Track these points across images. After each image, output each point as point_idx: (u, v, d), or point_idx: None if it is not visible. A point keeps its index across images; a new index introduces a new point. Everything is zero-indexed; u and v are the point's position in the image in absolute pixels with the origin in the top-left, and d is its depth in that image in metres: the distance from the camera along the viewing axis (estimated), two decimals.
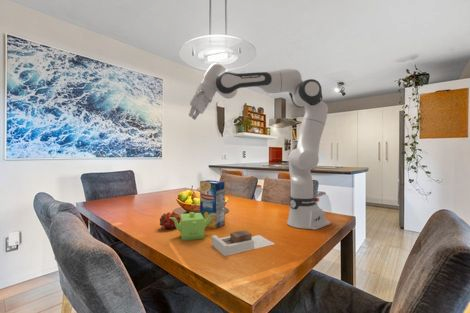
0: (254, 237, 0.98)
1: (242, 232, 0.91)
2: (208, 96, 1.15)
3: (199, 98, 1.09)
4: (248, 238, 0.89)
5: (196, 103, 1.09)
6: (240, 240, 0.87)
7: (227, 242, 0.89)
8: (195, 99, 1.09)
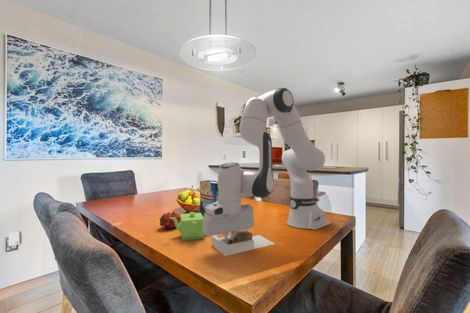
0: (254, 237, 0.98)
1: (243, 232, 0.91)
2: None
3: None
4: (249, 238, 0.89)
5: None
6: (241, 240, 0.87)
7: None
8: None
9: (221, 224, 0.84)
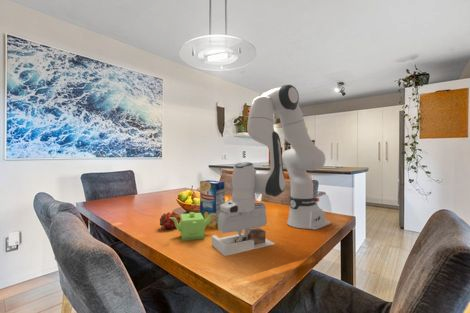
0: None
1: (256, 229, 0.94)
2: None
3: None
4: (262, 235, 0.92)
5: None
6: (255, 237, 0.90)
7: None
8: None
9: (236, 222, 0.87)
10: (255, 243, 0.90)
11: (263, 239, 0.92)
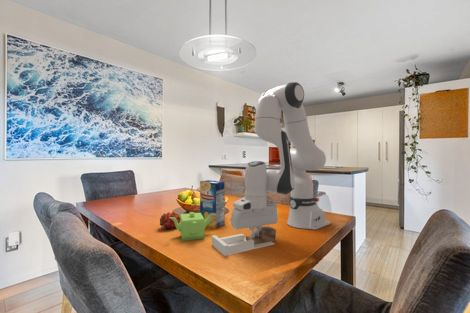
0: None
1: (267, 228, 0.96)
2: None
3: None
4: (273, 233, 0.94)
5: None
6: (265, 234, 0.93)
7: None
8: None
9: (248, 219, 0.90)
10: (266, 240, 0.93)
11: (273, 237, 0.94)
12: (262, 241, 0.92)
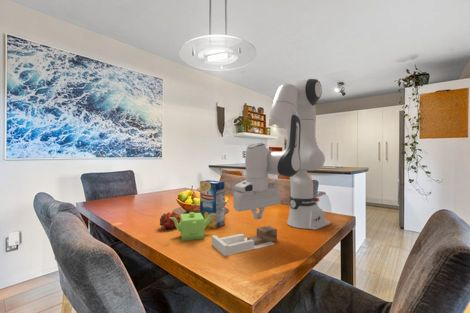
0: None
1: (268, 227, 0.97)
2: None
3: None
4: (274, 233, 0.94)
5: None
6: (267, 235, 0.93)
7: (254, 237, 0.94)
8: None
9: (250, 201, 0.90)
10: (267, 241, 0.93)
11: (275, 237, 0.95)
12: (264, 241, 0.92)
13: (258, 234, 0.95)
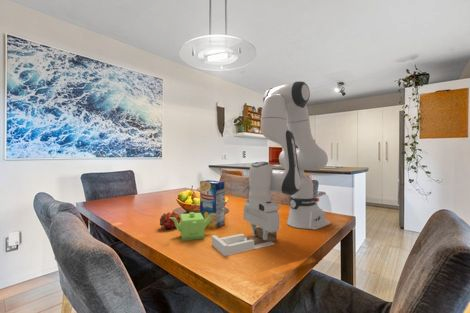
0: None
1: None
2: None
3: None
4: (273, 233, 0.95)
5: None
6: None
7: (254, 236, 0.95)
8: None
9: None
10: (267, 240, 0.93)
11: (274, 236, 0.95)
12: (263, 241, 0.92)
13: (258, 234, 0.95)
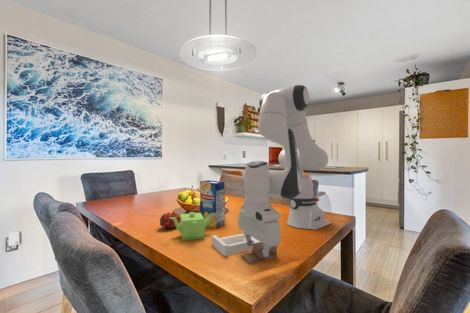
0: None
1: None
2: None
3: None
4: (273, 250, 0.80)
5: None
6: None
7: (250, 254, 0.80)
8: None
9: None
10: (265, 259, 0.78)
11: (274, 254, 0.80)
12: (261, 260, 0.77)
13: (254, 251, 0.80)
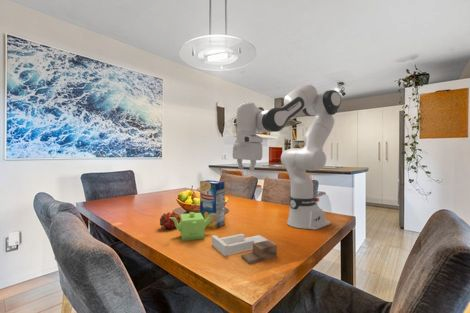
0: (254, 237, 0.98)
1: (266, 243, 0.82)
2: None
3: None
4: (273, 250, 0.80)
5: None
6: (265, 252, 0.78)
7: (250, 254, 0.80)
8: None
9: None
10: (265, 259, 0.78)
11: (274, 254, 0.80)
12: (261, 260, 0.77)
13: (254, 251, 0.80)
